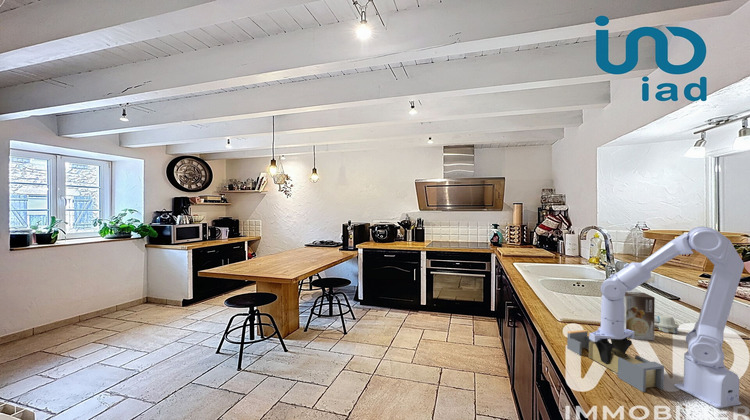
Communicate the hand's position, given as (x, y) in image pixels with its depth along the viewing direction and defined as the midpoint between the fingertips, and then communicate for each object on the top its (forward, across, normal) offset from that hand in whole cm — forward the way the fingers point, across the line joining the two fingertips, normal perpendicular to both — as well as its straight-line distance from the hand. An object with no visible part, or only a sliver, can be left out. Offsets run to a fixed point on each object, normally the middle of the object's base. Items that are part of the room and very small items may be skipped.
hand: (611, 361), depth 95 cm
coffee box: (+2, -30, -16) cm, 34 cm away
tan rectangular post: (+2, 0, +2) cm, 3 cm away
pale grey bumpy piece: (+2, -43, -27) cm, 51 cm away
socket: (+2, 0, -10) cm, 11 cm away
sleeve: (+2, 0, +8) cm, 9 cm away
